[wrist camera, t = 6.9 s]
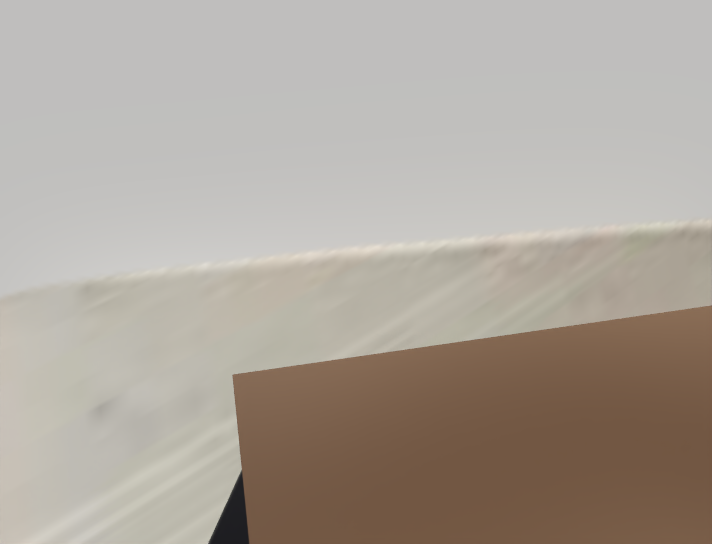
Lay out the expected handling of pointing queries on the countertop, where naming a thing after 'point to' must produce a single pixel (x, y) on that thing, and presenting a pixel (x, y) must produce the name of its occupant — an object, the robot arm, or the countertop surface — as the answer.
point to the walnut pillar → (489, 440)
